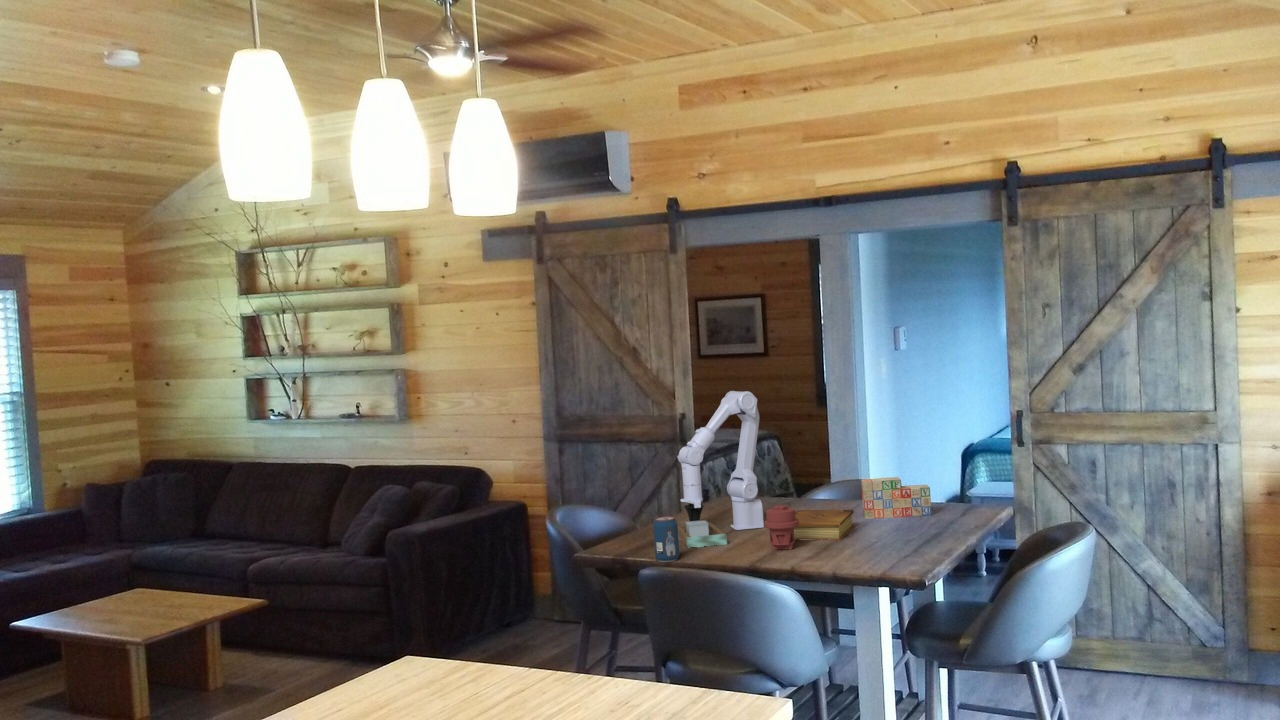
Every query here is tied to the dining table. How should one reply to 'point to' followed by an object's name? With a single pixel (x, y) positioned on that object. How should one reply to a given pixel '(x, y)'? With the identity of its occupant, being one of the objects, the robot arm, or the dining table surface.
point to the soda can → (666, 539)
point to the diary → (823, 524)
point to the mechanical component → (781, 526)
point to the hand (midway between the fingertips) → (695, 527)
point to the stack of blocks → (894, 498)
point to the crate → (697, 528)
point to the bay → (703, 537)
